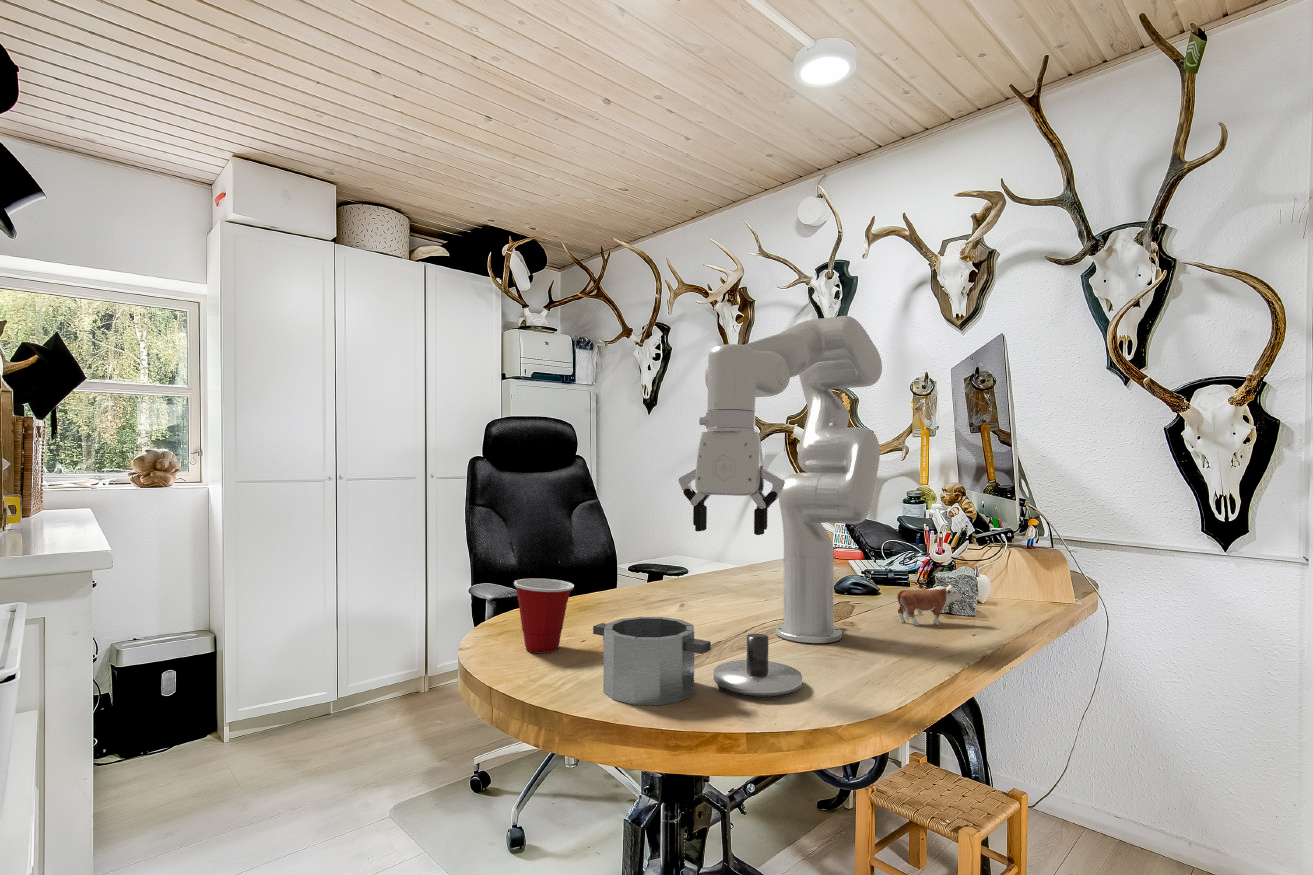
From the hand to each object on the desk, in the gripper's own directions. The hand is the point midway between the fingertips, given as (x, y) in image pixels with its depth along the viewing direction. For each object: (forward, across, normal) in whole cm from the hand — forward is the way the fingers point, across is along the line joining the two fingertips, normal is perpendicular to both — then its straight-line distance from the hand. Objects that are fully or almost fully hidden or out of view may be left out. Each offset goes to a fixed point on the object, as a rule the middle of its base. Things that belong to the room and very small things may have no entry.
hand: (729, 532), depth 102 cm
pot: (+23, -9, -9) cm, 26 cm away
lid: (+23, +5, 0) cm, 23 cm away
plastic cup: (+23, -35, +1) cm, 42 cm away
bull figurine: (+22, +26, +53) cm, 62 cm away
